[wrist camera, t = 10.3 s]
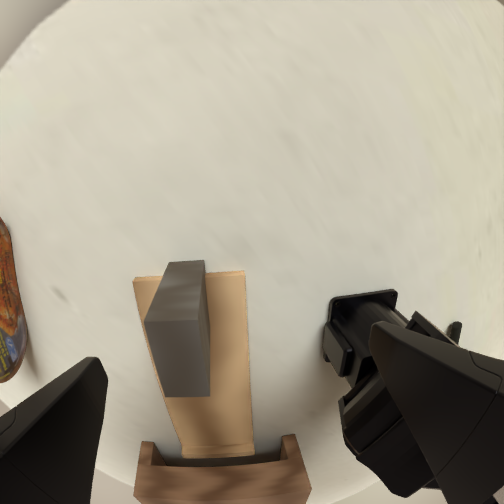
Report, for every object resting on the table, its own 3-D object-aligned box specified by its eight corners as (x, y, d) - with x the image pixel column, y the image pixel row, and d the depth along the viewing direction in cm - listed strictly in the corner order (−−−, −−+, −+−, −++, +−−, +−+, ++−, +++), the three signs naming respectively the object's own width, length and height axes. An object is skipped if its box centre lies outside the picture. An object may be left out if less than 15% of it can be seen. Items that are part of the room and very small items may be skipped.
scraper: (243, 257, 20) (259, 315, 12) (252, 441, 27) (262, 498, 19) (133, 264, 19) (91, 321, 11) (184, 445, 26) (182, 501, 18)
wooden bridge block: (294, 434, 27) (311, 488, 19) (288, 469, 30) (300, 513, 22) (141, 441, 25) (133, 495, 17) (163, 476, 28) (160, 520, 20)
